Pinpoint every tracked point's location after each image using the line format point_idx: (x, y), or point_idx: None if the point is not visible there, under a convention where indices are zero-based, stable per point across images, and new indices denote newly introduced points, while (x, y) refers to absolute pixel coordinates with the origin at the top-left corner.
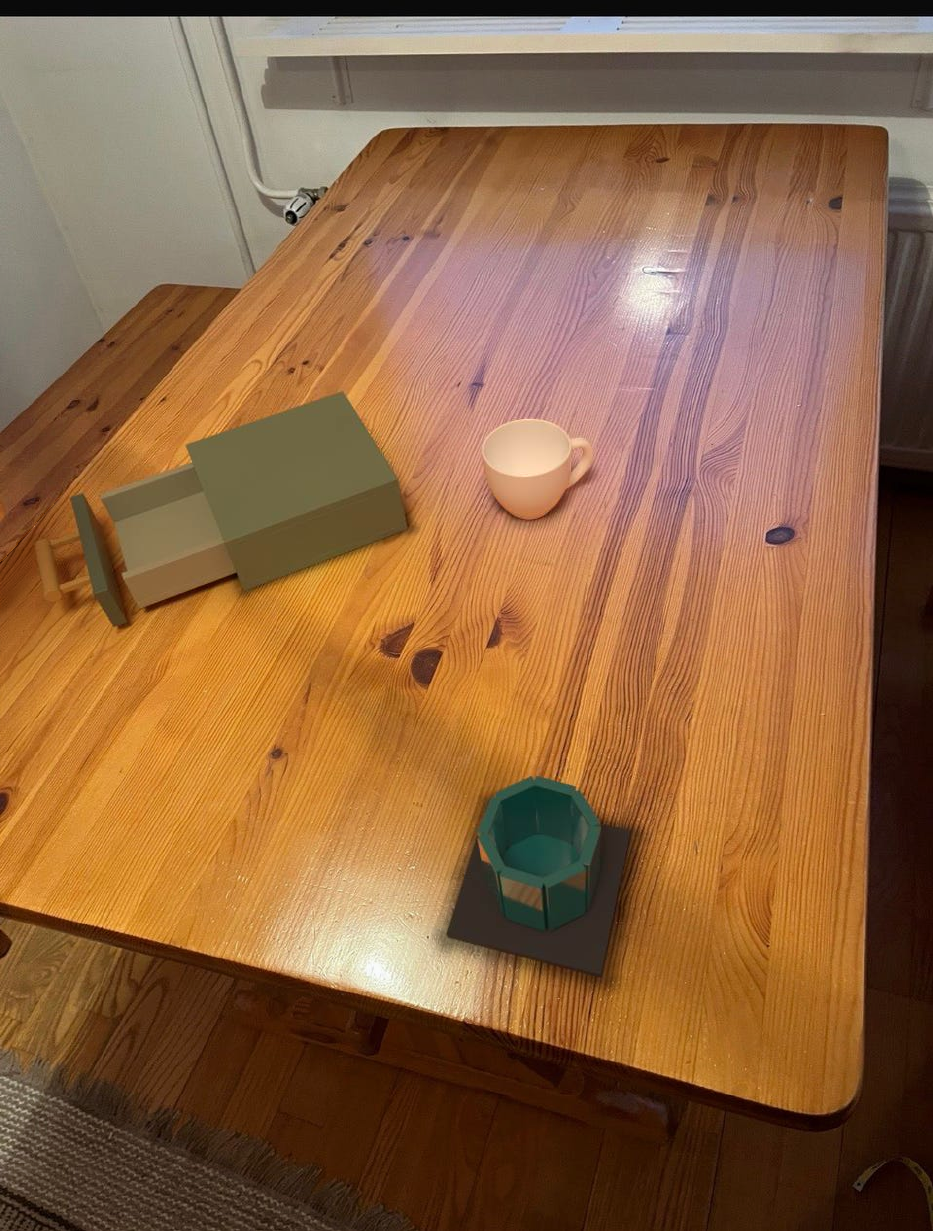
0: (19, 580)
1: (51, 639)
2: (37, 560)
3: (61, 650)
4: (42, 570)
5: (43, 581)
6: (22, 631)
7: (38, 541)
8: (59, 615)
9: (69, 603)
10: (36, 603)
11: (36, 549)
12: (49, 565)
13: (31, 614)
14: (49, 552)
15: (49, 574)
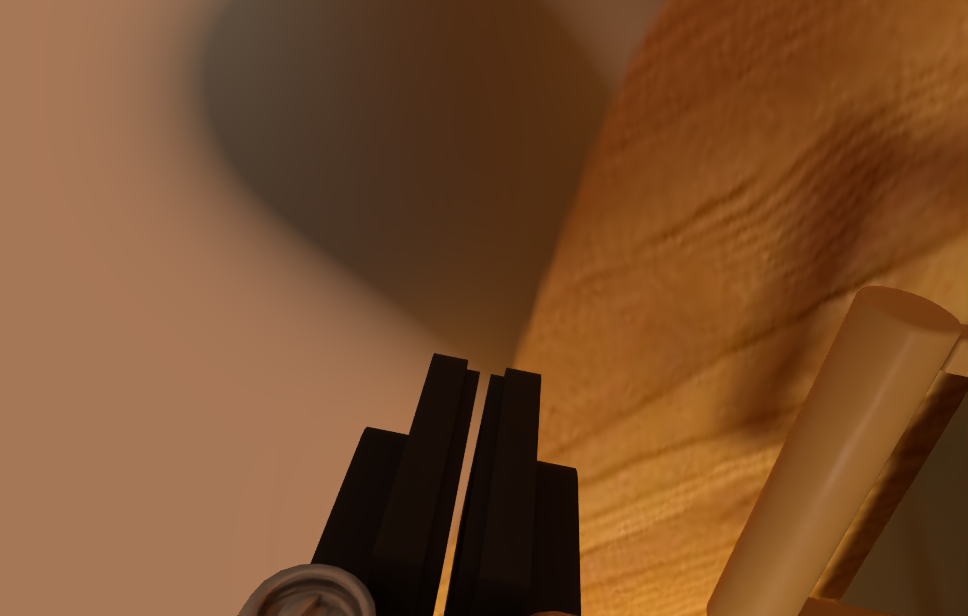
0: (650, 124)
1: (618, 501)
2: (814, 438)
3: (625, 555)
4: (795, 541)
5: (758, 592)
6: (547, 409)
7: (915, 345)
8: (693, 427)
9: (754, 400)
10: (650, 315)
11: (862, 378)
12: (841, 530)
13: (608, 356)
14: (900, 437)
15: (805, 581)
